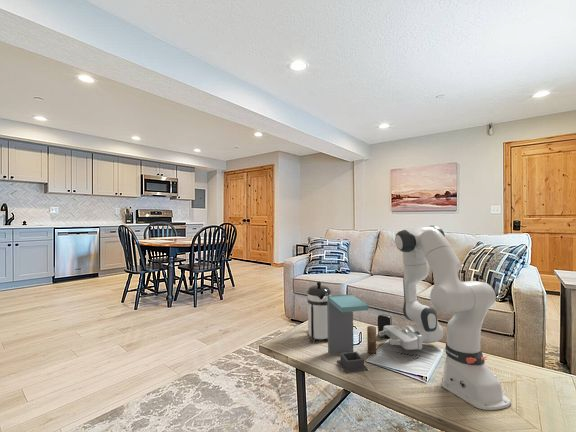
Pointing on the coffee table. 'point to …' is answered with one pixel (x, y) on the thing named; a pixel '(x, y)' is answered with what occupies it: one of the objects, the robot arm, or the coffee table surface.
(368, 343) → the peg
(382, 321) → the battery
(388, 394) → the coffee table surface
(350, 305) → the teal capped pillar
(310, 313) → the coffee press
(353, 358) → the socket
